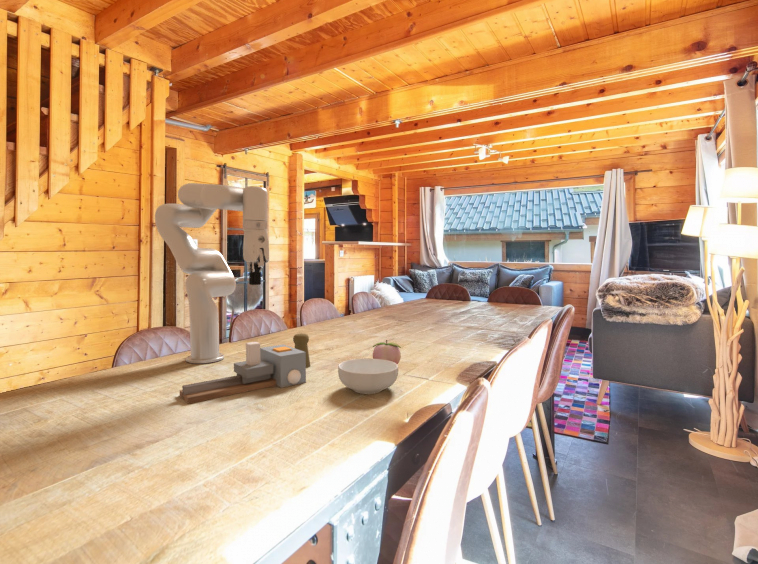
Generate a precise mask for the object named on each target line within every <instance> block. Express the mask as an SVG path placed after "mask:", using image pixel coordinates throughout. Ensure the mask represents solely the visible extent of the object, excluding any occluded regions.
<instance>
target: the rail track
mask: <svg viewBox="0 0 758 564" xmlns="http://www.w3.org/2000/svg"><path fill="white" fill-rule="evenodd" d="M270 375H271V379H266V380H261V381H256V382H251V383H246V384H243V383H242V376H241V375H237V374H236V375H232V376H226V377H223V378H222V377H221V378H217V379H212V380H211V379H210V380H205V381H200V382H194V383H189V384H183V385H182V389H179V397H180V398H182V400H184V401H185V403H187V404H188V405H189V404H193V403H194V404H195V403H200V402H203V401H208V400H213V399H214V400H215V399H217V398H223V397H227V396H233V395H237V394H242V393H245V392H246V393H247V392H251V391H256V390H261V389H266V388H270V387H275V386H277V385H276V380H275V379H273V378H272V374H270Z"/></svg>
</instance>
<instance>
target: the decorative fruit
mask: <svg viewBox="0 0 758 564" xmlns="http://www.w3.org/2000/svg"><path fill="white" fill-rule="evenodd" d="M372 348H374V349H373V350H372V351H373V352H372V359H382V360H388V361H392V362H394V363H396V364H397V365H398V364H399V363H400V361H401V358H402V356H401V350H400V349H401V348H402V347H401V346H400V344H398V343H396V342H388V340H387V339H385V342H377V343H375V344H374V345H372Z"/></svg>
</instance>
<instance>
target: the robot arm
mask: <svg viewBox="0 0 758 564" xmlns="http://www.w3.org/2000/svg"><path fill="white" fill-rule="evenodd" d="M268 194H269V193H268V190H267V189H266V188H265V187H262V186H255V185H253V186H251V185H250V186H249V185H248V186H245V187H240V186H232V185H225V184H214V183H213V184H212V183H197V182H196V183H195V182H194V183H193V182H191V183H190V182H189V183H185V184H183V185H182V186H180V188H179V189H178V191H177V198H178V199H179V201H180V202H181V203H164V204H161V205H159V206H158V207H157V208H156V210H155V213H154V222H155V227H156V230H157V232H158V233H159V236H160V237H161V238H162V240H163V241H164V242H165V244H166V245H167V247H169V249H170V251H171V253H172V256H173V257H174V260H175V261H176V263H177V265H178V267H179V269H180V270H181V271H182V272H183V273H184V274H187V275H188V276H187V277H186V279H185V282H184V283H185V284H184V285H185V291H186V292H185V293H186V294H187V301H188V314H189V340H190V355H188V356H186V357H185V361H186V362H187V363H189V364H209V363H215V362H219V361H221V360H222V361H223V359H224V358H225V355H224V353H222V352H220V328H219V326H220V325H219V321H220V320H219V309H218V305H217V304H216V303H215V300H214V299H213V298H218V297H227V296H228V297H229V296H230V295H231V294H233V293H234V292H235V291H236V287H237V283H236V278H235V276H234V274H233V272H232V270H231V268H230V267H229V265H228V263H227V261H226V259H225V257H224V256H223V255H222V253H221V252H220V251H218V250H217V249H215V248H209V247H208V248H204V247H199V246H197V245H196V242H195V241H194V239H193V236H191V235H190V234H189V233H188V232H186V230H184V229H182V228H191V229H199V228H202V227H204V226H205V225H206V224H207V222H209V220H210V219H211V217H212V216H213V215H214V213H215V212H216V211H217V210H222V211H223V210H225V211H234V212H235V211H236V212H242V231H243V232H244V233H243V243H242V244H243V248H242V253H243V254H242V255H243V260H244V261H245V262H246V265H247V266H248V272H249V273H248V284H249V285H252V286H258V285H259V286H260V285H261V282H262V279H261V278H262V275H261V274H262V269H263V268H264V266H265V263H268V262H270V246H269V236H268V221H269V220H268V211H269V210H268V209H269V207H268V202H269V200H268V198H269V197H268Z"/></svg>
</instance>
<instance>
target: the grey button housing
mask: <svg viewBox="0 0 758 564" xmlns="http://www.w3.org/2000/svg"><path fill="white" fill-rule="evenodd" d="M279 347H288V348H291V351H286V352H279V353H278V352H275V351H273V348H279ZM260 359H262V360H264V361H266V362H269V363H271V364H273V372H274V373H272V378H273V379H275V380H276V385H275V386H277V387H279V388H281V389H282V388H286V387H290V386H291V387H292V386H295V385H300V384H304V383H307V368H306V352H304V351H301V350H298V349H295V347H291V346H289V345H286V344H277V345H271V346H265V347H264V346H263V347H260Z"/></svg>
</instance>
